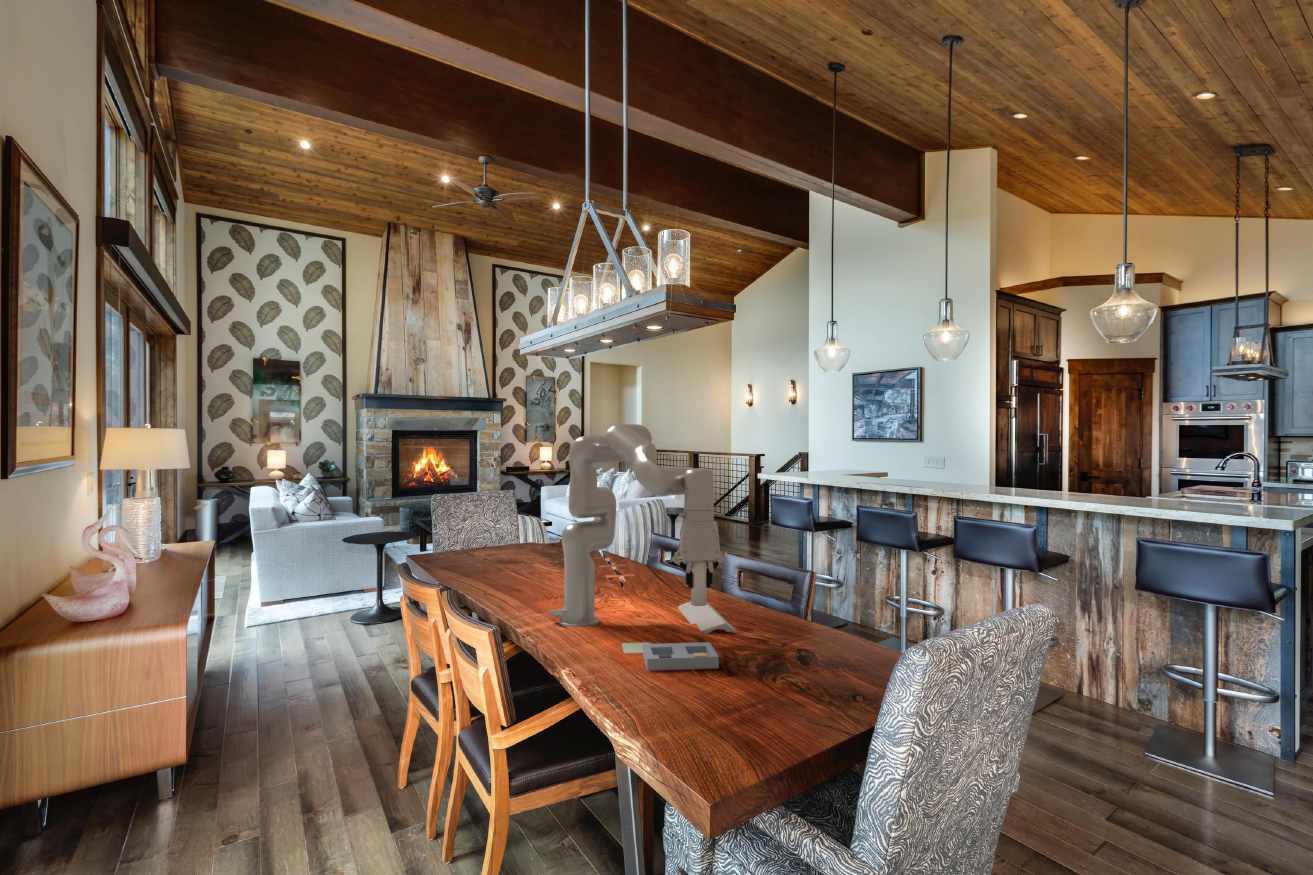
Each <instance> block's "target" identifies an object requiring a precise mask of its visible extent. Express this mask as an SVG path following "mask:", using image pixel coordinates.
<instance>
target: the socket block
mask: <svg viewBox="0 0 1313 875" xmlns="http://www.w3.org/2000/svg"><path fill="white" fill-rule="evenodd" d="M642 655H643V656H642V657H643V659H644V664H645V667H646V671H669V670H670V671H671V670H674V671H675V670H676V671H677V670H702V669H705V670H707V669H709V670H710V669H719V667H720V666H719V665H720V657H719V655H718V653H717V651H716V650H715V648H714V647H713V645H712V644H711V642H710V641H709V642H708V641H707V642H706V641H705V642H702V641H701V642H678V643H677V642H672V643H671V642H670V643H669V642H667V643H666V642H665V643H651V644H643V653H642Z"/></svg>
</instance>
